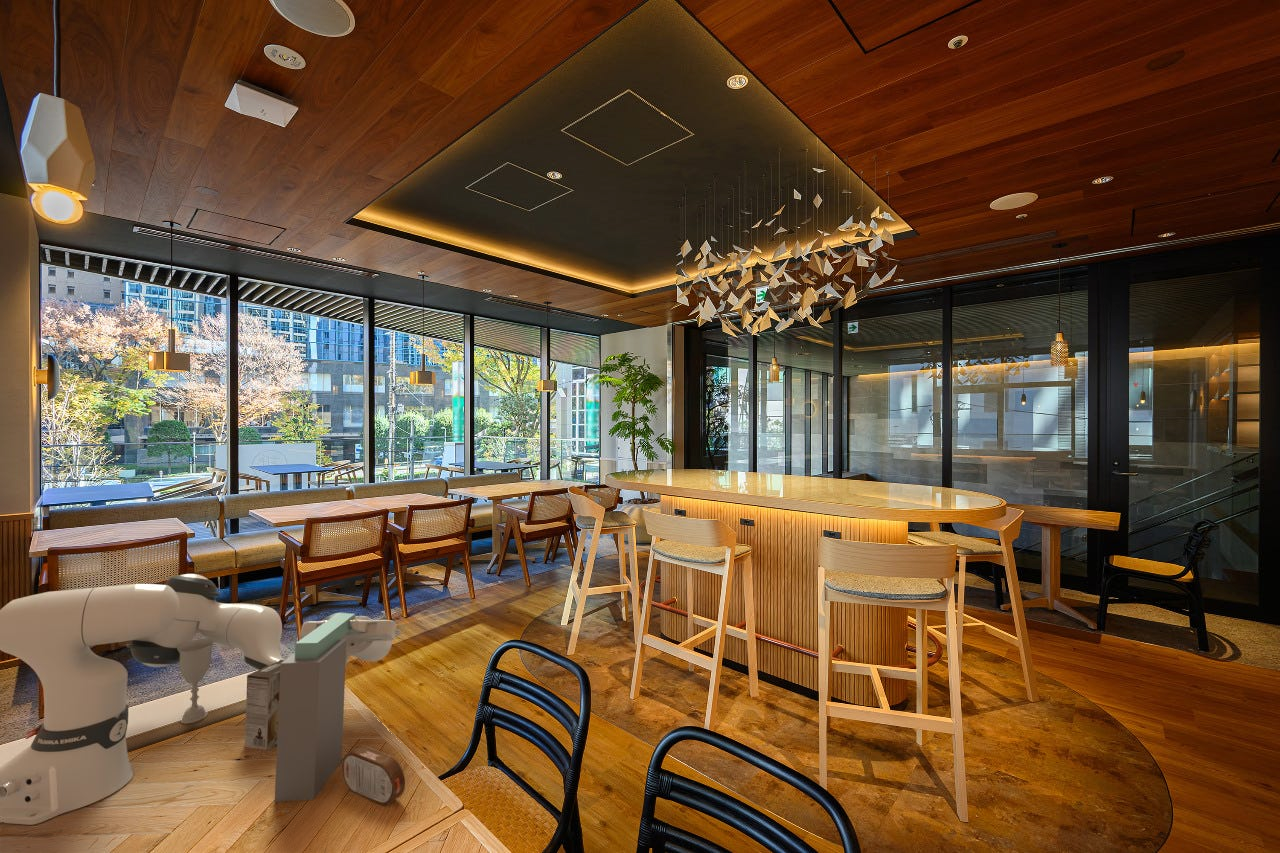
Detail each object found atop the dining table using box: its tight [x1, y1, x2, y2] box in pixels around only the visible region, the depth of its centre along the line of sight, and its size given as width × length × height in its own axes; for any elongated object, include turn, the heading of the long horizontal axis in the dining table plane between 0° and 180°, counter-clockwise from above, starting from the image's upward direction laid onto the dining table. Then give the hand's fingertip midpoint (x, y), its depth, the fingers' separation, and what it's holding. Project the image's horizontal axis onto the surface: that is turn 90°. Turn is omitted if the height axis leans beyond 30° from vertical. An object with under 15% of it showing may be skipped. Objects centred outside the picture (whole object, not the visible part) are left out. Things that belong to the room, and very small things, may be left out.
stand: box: [273, 639, 347, 803], centre depth 106 cm, size 7×12×26 cm, turn 7°
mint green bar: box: [294, 613, 356, 659], centre depth 111 cm, size 4×18×3 cm, turn 7°
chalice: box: [177, 638, 215, 724], centre depth 128 cm, size 7×7×18 cm
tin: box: [342, 744, 406, 806], centre depth 101 cm, size 15×3×8 cm, turn 65°
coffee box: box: [244, 659, 286, 751], centre depth 120 cm, size 9×6×16 cm
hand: (338, 624), depth 116 cm, fingers closed on mint green bar, 4 cm apart
